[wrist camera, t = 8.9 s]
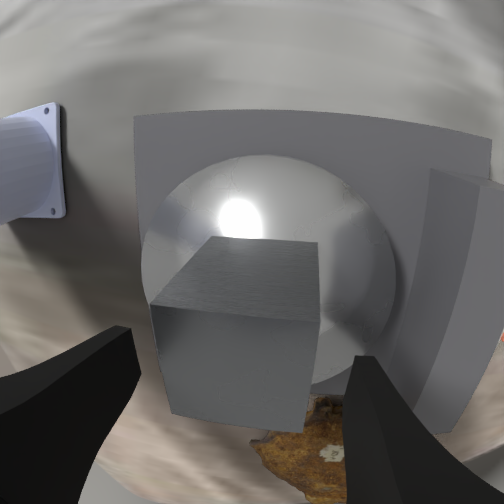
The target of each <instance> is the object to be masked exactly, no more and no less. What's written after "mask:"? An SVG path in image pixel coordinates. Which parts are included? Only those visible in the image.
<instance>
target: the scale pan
mask: <svg viewBox="0 0 504 504" xmlns="http://www.w3.org/2000/svg"><path fill="white" fill-rule="evenodd" d="M211 236H224V237H241V238H257V239H274V240H289V241H305V242H318V257H319V281H320V318H321V322H320V330H319V337H318V344H317V351H316V358H315V364H314V371H313V377H312V383H311V385H312V384H316V383H318V382H321V381H324V380H326V379H329V378H331V377H333V376H335V375H337V374H339V373H341V372H342V371H344V370H345V369H347V368H348V367H350V366H351V365H353V361H354V357H355V355H360V356H363V355H364V354H365V353H366V352H367V351H368V350H369V349H370V348H371V346H372V345H373V344H374V343H375V341H376V340H377V338H378V337H379V335H380V334H381V332H382V331H383V329H384V327H385V325H386V322H387V320H388V318H389V315H390V312H391V309H392V306H393V302H394V296H395V289H396V269H395V262H394V256H393V252H392V249H391V245H390V242H389V239H388V237H387V235H386V233H385V230H384V228H383V226H382V224H381V222H380V221H379V219H378V218H377V216H376V215H375V213H374V212H373V211H372V209H371V208H370V206H369V205H368V204H367V203H366V201H365V200H364V199H363V198H362V197H361V196H360V195H359V194H358V193H357V192H356V191H355V190H354V189H353V188H352V187H351V186H349V185H348V184H347V183H346V182H344V181H343V180H342V179H340V178H339V177H337V176H336V175H334V174H332V173H331V172H329V171H327V170H325V169H324V168H321V167H319V166H316V165H314V164H312V163H309V162H307V161H303V160H299V159H295V158H291V157H287V156H278V155H248V156H243V157H237V158H232V159H229V160H226V161H223V162H220V163H217V164H214V165H211V166H209V167H207V168H205V169H203V170H201V171H199V172H197V173H195V174H193V175H192V176H190V177H189V178H187V179H186V180H185V181H183V182H182V183H181V184H179V185H178V186H177V187H176V188H175V189H174V190H173V191H172V192H171V193H170V194H169V195H168V196H167V197H166V199H165V200H164V201H163V202H162V204H161V205H160V206H159V208H158V209H157V211H156V213H155V215H154V217H153V218H152V220H151V222H150V225H149V227H148V230H147V233H146V235H145V239H144V244H143V249H142V258H141V273H142V283H143V288H144V293H145V296H146V299H147V302H148V305H149V308H150V303H151V302H152V301H153V300H154V298H155V297H156V296H157V295H158V294H159V293H160V292H161V291H162V289H163V288H164V287H165V286H166V285H167V284H168V283H169V282H170V281H171V279H172V278H173V277H174V276H175V275H176V274H177V273H178V272H179V271H180V270H181V268H182V267H183V266H184V265H185V264H186V263H187V262H188V261H189V260H190V259H191V258H192V256H193V255H194V254H195V253H196V252H197V251H198V250H199V249H200V248H201V247H202V246H203V245H204V243H205V242H206V241H207V240H208V239H209V238H210V237H211Z"/></svg>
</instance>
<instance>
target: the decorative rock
mask: <svg viewBox="0 0 504 504" xmlns="http://www.w3.org/2000/svg"><path fill="white" fill-rule="evenodd" d="M342 408H343V405H342V406H335V407H333V405H332V404H331V401H330V399H329V398H317V399H316V400H315V401H314V409H313V411H310V412H306V417H305V422H304V428H303V433H295V432H283V431H273V430H269V433H268V435H267V436H266V438H264V439H262V440H251V441H250V443H249V444H250V446H251V447H253V448H254V449H255V450H256V452H257V453H258V454H259V455H260V456H261V458H262V465H264V466H265V467H266V468H267V469H268V470H270V471H271V472H272V473H274V474H275V475H276V476H277V477H278V478H280V479H282V480H285V481H287V482H288V483H289V484H290V485H292V486H294V487H296V488H297V489H298V490H300V491H302V492H303V493H304V494H305V498H306V500H308V501H309V502H310V503H312V504H333V503H337V502H338V503H346V500H347V487H346V472H345V459H344V447H343V435H342Z"/></svg>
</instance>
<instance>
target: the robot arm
mask: <svg viewBox="0 0 504 504" xmlns="http://www.w3.org/2000/svg"><path fill="white" fill-rule="evenodd" d="M48 109H49V113H48ZM54 209H55V211H56V213H55V211H54ZM65 214H66V207H65V198H64V189H63V178H62V164H61V146H60V106H59V104H58V103H57V102H52V103H48V104H45V105H41V106H38V107H35V108H31V109H28V110H25V111H22V112H19V113H16V114H13V115H10V116H7V117H5V118H2V119H0V225H3V224H5V223H7V222H10V221H12V220H14V219H17V218H19V217H26V218H62V217H64V216H65ZM140 376H141V370H140V366H139V362H138V358H137V353H136V349H135V345H134V340H133V336H132V331H131V328H126V327H121V326H114V327H112V328H109V329H107V330H105V331H103V332H101V333H99V334H97V335H95V336H94V337H92V338H90V339H88V340H86V341H84V342H82V343H80V344H79V345H77V346H75V347H73V348H71V349H69V350H67V351H65V352H63V353H61V354H59V355H57V356H55V357H53V358H51V359H49V360H47V361H45V362H42V363H40V364H38V365H36V366H33V367H31V368H28V369H26V370H23V371H20V372H17V373H15V374H12V375H8V376H4V377H1V378H0V504H78V501H79V498H80V495H81V492H82V489H83V486H84V484H85V481H86V479H87V476H88V473H89V471H90V469H91V466H92V464H93V462H94V460H95V457H96V455H97V453H98V451H99V449H100V447H101V445H102V444H103V442H104V440H105V439H106V437H107V435H108V434H109V432H110V431H111V429H112V427H113V426H114V424H115V423H116V421H117V419H118V418H119V416H120V415H121V413H122V411H123V410H124V408H125V407H126V405H127V403H128V402H129V400H130V398H131V396H132V394H133V392H134V390H135V388H136V385H137V383H138V381H139V378H140ZM342 435H343V447H344V459H345V472H346V487H347V500H346V504H504V493H502V492H500V491H499V490H497V489H496V488H494V487H493V486H490V484H488V483H486V482H485V481H484V480H482V479H481V478H479V477H478V476H477V475H475V474H474V473H472V472H471V471H470V470H469V469H468V468H467V467H465V466H464V465H463V464H462V463H461V462H459V461H458V460H457V459H456V458H455V457H454V456H453V455H451V454H450V453H449V452H448V451H447V450H446V449H445V448H444V447H443V446H442V445H441V444H440V443H439V442H438V441H437V440H436V439H435V438H434V437H433V436H432V434H431V433H430V432H429V431H428V430H427V429H426V428H425V426H424V425H423V424H422V423H421V421H420V420H419V419H418V418H417V416H416V415H415V414H414V413H413V411H412V410H411V409H410V407H409V406H408V405H407V403H406V402H405V400H404V399H403V398H402V396H401V395H400V394H399V392H398V391H397V389H396V388H395V386H394V385H393V383H392V382H391V380H390V379H389V377H388V376H387V374H386V373H385V371H384V370H383V368H382V367H381V365H380V364H379V362H378V360H377V359H376V358H375V356H360V355H355V357H354V361H353V365H352V369H351V373H350V376H349V380H348V384H347V388H346V391H345V395H344V398H343V408H342Z"/></svg>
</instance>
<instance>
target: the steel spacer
mask: <svg viewBox="0 0 504 504" xmlns="http://www.w3.org/2000/svg"><path fill="white" fill-rule="evenodd" d="M150 310H151V317H152V322H153V328H154V334H155V339H156V344H157V350H158V355H159V360H160V365H161V369H162V374H163V379H164V383H165V388H166V392H167V396H168V400H169V405H170V409H171V413H172V414H176V415H180V416H185V417H190V418H195V419H200V420H205V421H210V422H216V423H222V424H228V425H234V426H241V427H248V428H256V429H264V430H273V431H283V432H295V433H303V428H304V422H305V417H306V412H307V406H308V401H309V395H310V389H311V383H312V377H313V371H314V364H315V358H316V351H317V344H318V337H319V330H320V322H321V318H320V281H319V257H318V242H305V241H289V240H274V239H257V238H241V237H224V236H211V237H210V238H209V239H208V240H207V241H206V242H205V243H204V245H203V246H202V247H201V248H200V249H199V250H198V251H197V252H196V253H195V254H194V255H193V256H192V258H191V259H190V260H189V261H188V262H187V263H186V264H185V265H184V266H183V267H182V268H181V270H180V271H179V272H178V273H177V274H176V275H175V276H174V277H173V278H172V279H171V281H170V282H169V283H168V284H167V285H166V286H165V287H164V288H163V289H162V291H161V292H160V293H159V294H158V295H157V296H156V297H155V298H154V300H153V301H152V302H151V303H150Z"/></svg>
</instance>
